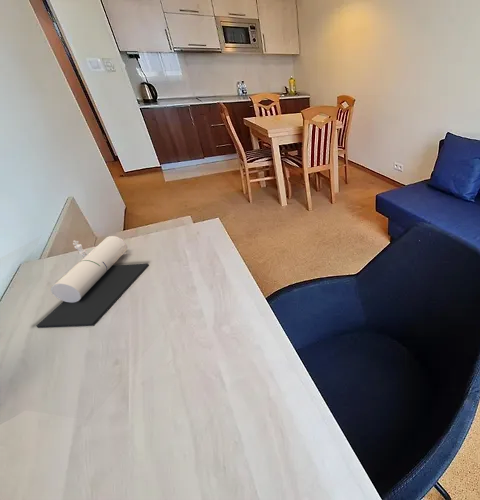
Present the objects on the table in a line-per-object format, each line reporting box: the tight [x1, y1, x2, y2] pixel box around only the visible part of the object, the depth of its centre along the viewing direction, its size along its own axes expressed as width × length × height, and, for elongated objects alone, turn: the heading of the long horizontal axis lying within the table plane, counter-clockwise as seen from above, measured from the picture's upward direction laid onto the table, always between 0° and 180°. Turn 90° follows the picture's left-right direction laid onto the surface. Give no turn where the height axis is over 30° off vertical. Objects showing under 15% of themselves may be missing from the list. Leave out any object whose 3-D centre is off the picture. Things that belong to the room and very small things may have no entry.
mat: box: [35, 263, 150, 329], centre depth 91 cm, size 16×26×1 cm, turn 179°
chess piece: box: [72, 240, 88, 258], centre depth 102 cm, size 5×5×10 cm
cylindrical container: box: [50, 235, 128, 303], centre depth 96 cm, size 7×7×25 cm
